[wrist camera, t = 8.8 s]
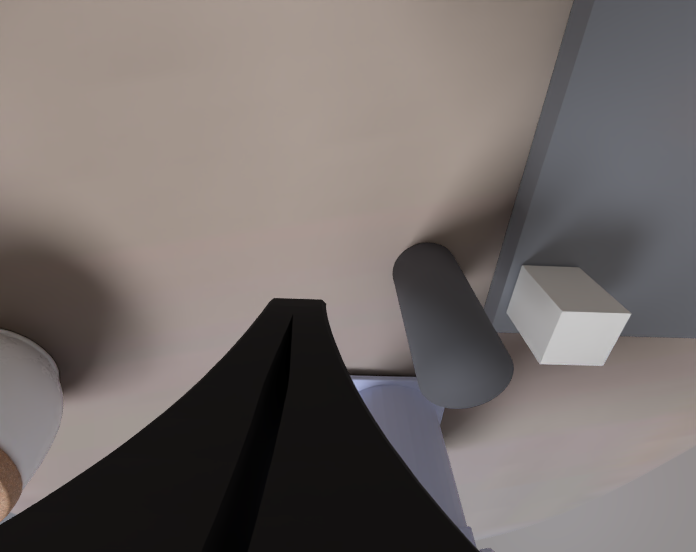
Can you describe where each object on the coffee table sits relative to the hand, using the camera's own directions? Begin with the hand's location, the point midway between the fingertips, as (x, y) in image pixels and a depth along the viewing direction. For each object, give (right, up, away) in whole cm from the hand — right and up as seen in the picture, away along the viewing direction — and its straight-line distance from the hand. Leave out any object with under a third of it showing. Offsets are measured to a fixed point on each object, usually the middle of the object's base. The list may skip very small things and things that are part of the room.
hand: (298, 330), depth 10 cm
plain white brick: (+12, +1, +10) cm, 15 cm away
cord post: (+6, +2, +11) cm, 13 cm away
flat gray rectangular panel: (+17, +6, +9) cm, 20 cm away
